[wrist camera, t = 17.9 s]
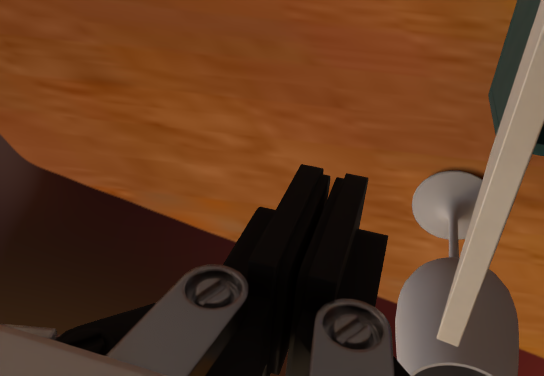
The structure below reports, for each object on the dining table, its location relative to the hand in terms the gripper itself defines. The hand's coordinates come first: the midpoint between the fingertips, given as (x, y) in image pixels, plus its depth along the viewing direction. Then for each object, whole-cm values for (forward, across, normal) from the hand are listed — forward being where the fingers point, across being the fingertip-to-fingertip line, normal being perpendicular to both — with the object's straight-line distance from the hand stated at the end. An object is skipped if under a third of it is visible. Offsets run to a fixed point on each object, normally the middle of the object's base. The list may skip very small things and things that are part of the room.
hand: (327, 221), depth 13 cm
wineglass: (+31, -7, +17) cm, 36 cm away
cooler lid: (+12, -6, 0) cm, 14 cm away
